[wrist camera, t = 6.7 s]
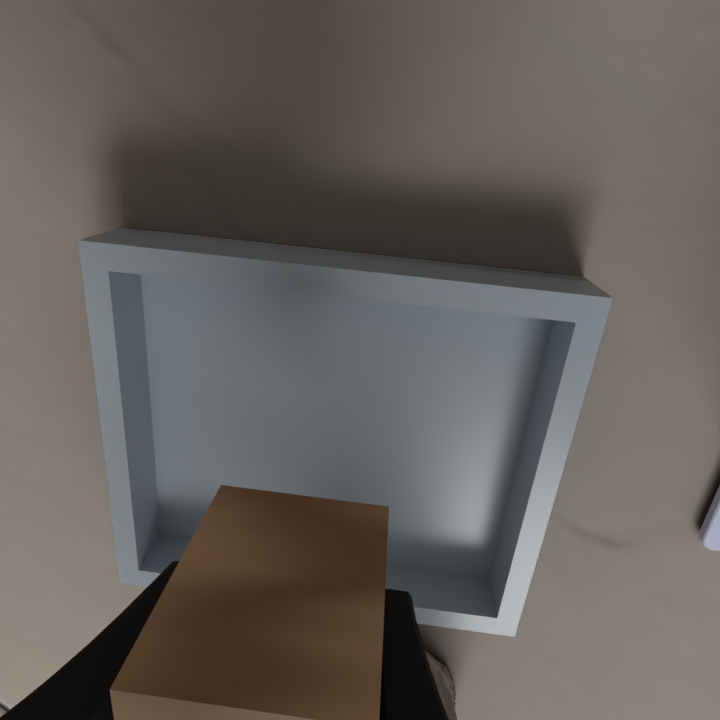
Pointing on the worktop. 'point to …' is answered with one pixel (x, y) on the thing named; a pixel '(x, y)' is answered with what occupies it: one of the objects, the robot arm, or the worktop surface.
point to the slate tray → (341, 401)
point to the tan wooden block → (266, 616)
